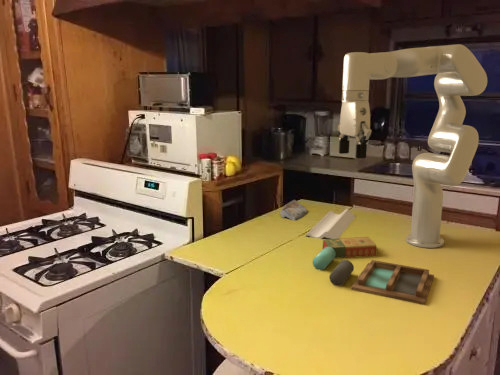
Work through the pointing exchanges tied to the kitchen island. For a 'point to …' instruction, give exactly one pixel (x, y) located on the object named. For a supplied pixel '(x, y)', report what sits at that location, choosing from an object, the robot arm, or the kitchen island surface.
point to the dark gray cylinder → (341, 273)
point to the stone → (293, 210)
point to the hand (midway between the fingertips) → (351, 155)
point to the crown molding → (331, 225)
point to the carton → (351, 246)
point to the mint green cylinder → (324, 258)
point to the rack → (395, 281)
